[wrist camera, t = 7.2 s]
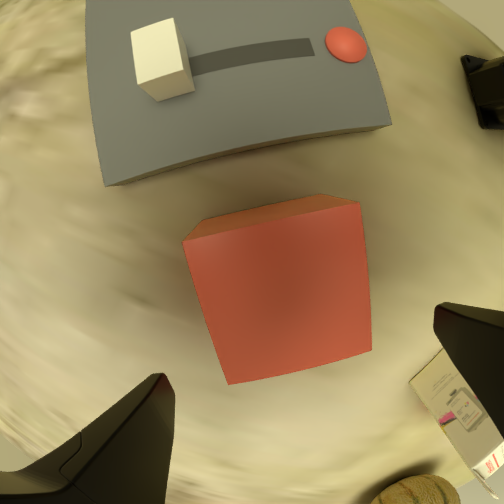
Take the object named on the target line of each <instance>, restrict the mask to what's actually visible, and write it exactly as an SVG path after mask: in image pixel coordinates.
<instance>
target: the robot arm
mask: <svg viewBox="0 0 504 504" xmlns="http://www.w3.org/2000/svg"><path fill="white" fill-rule="evenodd" d="M462 62H463V65H464V67H465V70H466V73H467V76H468V79H469V83H470V86H471V89H472V93H473V96H474V100H475V104H476V108H477V112H478V116H479V120H480V124H481V127H482V128H483V129H491V130H504V56H502V57H499V58H496V59H493V60H490V61H488V60H485V59H481V58H477V57H474V56H470V55H464V56H462ZM433 329H434V332H435V334H436V336H437V338H438V339H439V341H440V343H441V344H442V346H443V348H444V349H445V351H446V353H447V354H448V356H449V358H450V359H451V361H452V363H453V364H454V366H455V367H456V369H457V370H458V371H459V373H460V374H461V375H462V377H463V378H464V380H465V381H466V382H467V384H468V385H469V387H470V388H471V390H472V391H473V392H474V394H475V395H476V397H477V398H478V400H479V401H480V403H481V404H482V406H483V407H484V409H485V410H486V412H487V413H488V415H489V417H490V418H491V420H492V421H493V423H494V424H495V426H496V428H497V429H498V431H499V433H500V434H501V436H502V438H503V439H504V312H503V311H497V310H491V309H485V308H479V307H473V306H467V305H461V304H455V303H449V302H444V303H441V304H439V305H437V306H436V307H435V310H434V323H433ZM174 419H175V393H174V390H173V388H172V386H171V384H170V382H169V380H168V378H167V376H166V375H165V374H164V373H155V374H151V375H150V376H149V377H148V378H146V379H145V380H144V381H143V382H141V383H140V384H139V385H138V386H137V387H135V388H134V389H133V390H132V391H130V392H129V393H128V394H127V395H125V396H124V397H123V398H122V399H120V400H119V401H118V402H117V403H115V404H114V405H113V406H112V407H110V408H109V409H108V410H107V411H105V412H104V413H103V414H102V415H100V416H99V417H98V418H96V419H95V420H94V421H93V422H91V423H90V424H89V425H88V426H86V427H85V428H84V429H82V430H81V432H78V433H77V434H76V435H75V436H73V437H72V438H71V439H69V440H68V441H66V442H65V443H64V444H62V445H61V446H59V447H58V448H56V449H55V450H53V451H52V452H50V453H49V454H47V455H45V456H44V457H42V458H40V459H39V460H37V461H35V462H34V463H32V464H31V465H29V466H27V467H25V468H23V469H21V470H18V471H14V472H2V471H0V504H165V497H166V489H167V481H168V474H169V466H170V459H171V453H172V446H173V439H174Z"/></svg>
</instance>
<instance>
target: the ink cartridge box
mask: <svg viewBox="0 0 504 504" xmlns="http://www.w3.org/2000/svg"><path fill="white" fill-rule="evenodd" d="M409 384H410V386H411V387H412V388H413V390H414V391H415V393H416V394H417V395H418V397H419V398H420V399H421V401H422V402H423V403H424V405H425V406H426V408H427V409H428V410H429V412H430V413H431V415H432V416H433V417H434V419H435V420H436V422H437V423H438V424H439V426H440V427H441V429H442V430H443V432H444V433H445V435H446V436H447V437H448V439H449V440H450V442H451V443H452V445H453V446H454V448H455V449H456V451H457V452H458V454H459V455H460V457H461V458H462V459H463V461H464V462H465V464H466V465H467V467H468V468H469V470H470V471H471V472H472V473H473V474H474V476H475V477H476V478H477V479H478V481H479V482H480V483H481V484H482V485H483V487H484V488H485V489H486V490H487V491H488V493H489V494H490V495H491V496H492V497H494V498H496V499H499V497H498V496H497V495H496V494H495V493H494V491H493V490H492V489H491V488H490V487H489V486H488V485H487V483H486V482H485V481H484V480H485V479H487V478H488V477H489V476H490V475H491V474H492V473H494V472H495V471H496V470H497V469H498V468H499V467H500V466H501V465H502V464H504V439H503V438H502V436H501V434H500V433H499V431H498V429H497V428H496V426H495V424H494V423H493V421H492V420H491V418H490V417H489V415H488V413H487V412H486V410H485V409H484V407H483V406H482V404H481V403H480V401H479V400H478V398H477V397H476V395H475V394H474V392H473V391H472V390H471V388H470V387H469V385H468V384H467V382H466V381H465V380H464V378H463V377H462V375H461V374H460V373H459V371H458V370H457V369H456V367H455V366H454V364H453V363H452V361H451V359H450V358H449V356H448V354H447V353H446V351H445V349H444V348H443V349H442V350H441V352H440V353H439V354H438V355H437V356H436V357H435V358H434V359H433V360H432V361H431V362H430V363H429V364H428V365H427V366H426V367H425V368H424V369H423V370H422V371H421V372H420V373H419V374H417V375H416V376H415V377H414V378H413V379H412V380H411V381H410V382H409Z"/></svg>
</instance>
